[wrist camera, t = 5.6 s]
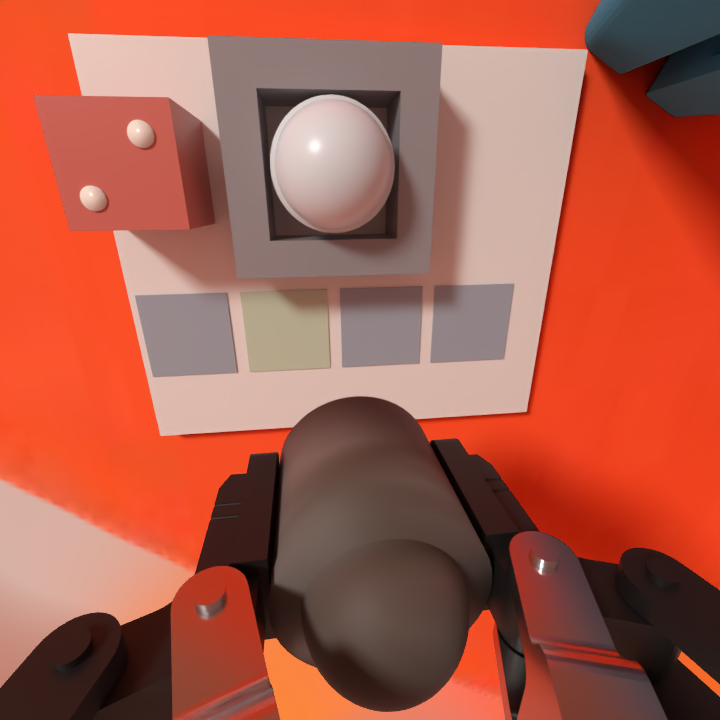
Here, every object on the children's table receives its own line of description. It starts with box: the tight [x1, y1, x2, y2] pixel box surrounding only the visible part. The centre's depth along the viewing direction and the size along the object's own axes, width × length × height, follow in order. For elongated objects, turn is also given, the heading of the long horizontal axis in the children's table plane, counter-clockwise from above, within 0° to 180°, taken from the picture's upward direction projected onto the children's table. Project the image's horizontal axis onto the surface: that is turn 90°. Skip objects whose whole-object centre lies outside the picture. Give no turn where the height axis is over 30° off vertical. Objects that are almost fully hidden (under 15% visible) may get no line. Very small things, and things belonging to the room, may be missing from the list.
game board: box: [68, 33, 588, 436], centre depth 24 cm, size 26×22×1 cm
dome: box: [270, 94, 395, 233], centre depth 18 cm, size 6×6×5 cm
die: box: [33, 95, 215, 231], centre depth 19 cm, size 5×5×5 cm
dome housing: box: [207, 36, 443, 279], centre depth 20 cm, size 10×10×4 cm
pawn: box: [269, 396, 492, 712], centre depth 9 cm, size 4×4×6 cm
